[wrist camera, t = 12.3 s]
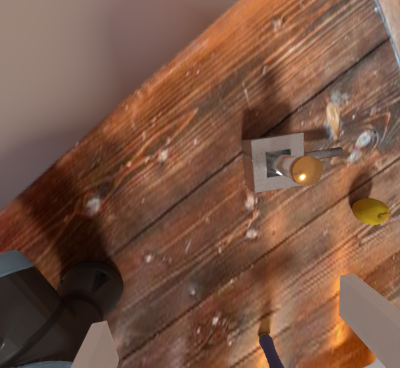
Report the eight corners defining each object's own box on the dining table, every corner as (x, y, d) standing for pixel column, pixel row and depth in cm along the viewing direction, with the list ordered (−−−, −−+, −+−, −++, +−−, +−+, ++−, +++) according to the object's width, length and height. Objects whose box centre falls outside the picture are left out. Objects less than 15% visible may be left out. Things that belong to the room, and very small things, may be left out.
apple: (369, 194, 52) (402, 204, 44) (364, 216, 53) (395, 230, 45) (347, 193, 51) (377, 203, 43) (342, 216, 52) (370, 230, 45)
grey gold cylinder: (256, 159, 44) (288, 169, 30) (273, 146, 44) (313, 149, 30) (267, 175, 45) (303, 191, 32) (284, 162, 45) (328, 173, 31)
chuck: (245, 185, 48) (255, 192, 42) (241, 140, 45) (251, 140, 39) (326, 172, 49) (347, 177, 43) (327, 127, 46) (350, 125, 40)
